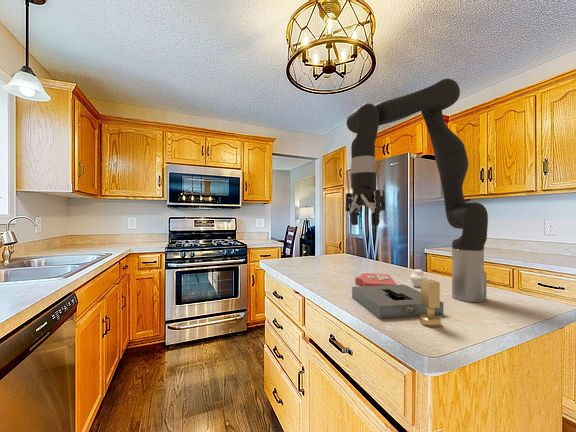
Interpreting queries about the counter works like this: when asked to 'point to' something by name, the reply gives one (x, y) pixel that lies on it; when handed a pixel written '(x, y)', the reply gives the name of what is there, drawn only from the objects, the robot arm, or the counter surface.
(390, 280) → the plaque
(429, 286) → the peg
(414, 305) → the keyhole plate
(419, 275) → the white lidded jar
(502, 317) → the counter surface
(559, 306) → the counter surface
